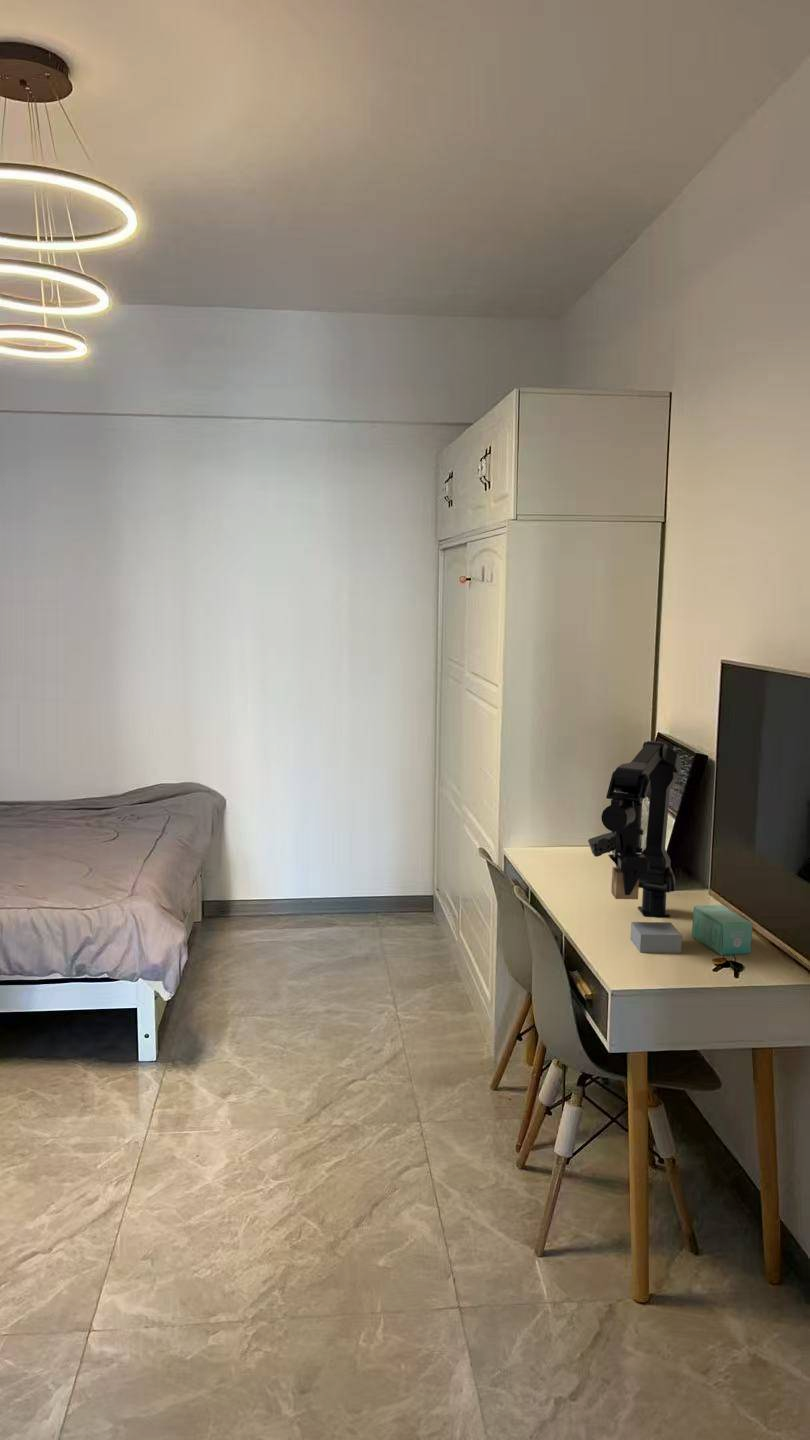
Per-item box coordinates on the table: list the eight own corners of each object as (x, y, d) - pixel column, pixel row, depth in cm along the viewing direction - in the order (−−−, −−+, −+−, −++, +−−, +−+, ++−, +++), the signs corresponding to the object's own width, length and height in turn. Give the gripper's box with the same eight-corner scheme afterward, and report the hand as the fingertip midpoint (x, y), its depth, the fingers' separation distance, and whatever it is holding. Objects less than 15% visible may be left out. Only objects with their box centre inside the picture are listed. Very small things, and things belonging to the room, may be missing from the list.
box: (721, 956, 234) (723, 923, 234) (690, 937, 247) (692, 905, 247) (751, 954, 236) (753, 921, 235) (719, 935, 249) (721, 904, 248)
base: (630, 939, 245) (631, 921, 244) (669, 939, 245) (670, 922, 244) (640, 952, 236) (640, 934, 235) (681, 952, 236) (681, 935, 235)
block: (611, 892, 246) (612, 866, 245) (633, 893, 246) (634, 867, 245) (615, 898, 241) (616, 872, 240) (638, 899, 241) (639, 873, 240)
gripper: (584, 814, 251) (582, 879, 253) (599, 831, 232) (596, 902, 234) (632, 815, 251) (629, 880, 253) (651, 832, 232) (648, 903, 234)
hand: (624, 891), depth 243 cm, fingers closed on block, 5 cm apart
